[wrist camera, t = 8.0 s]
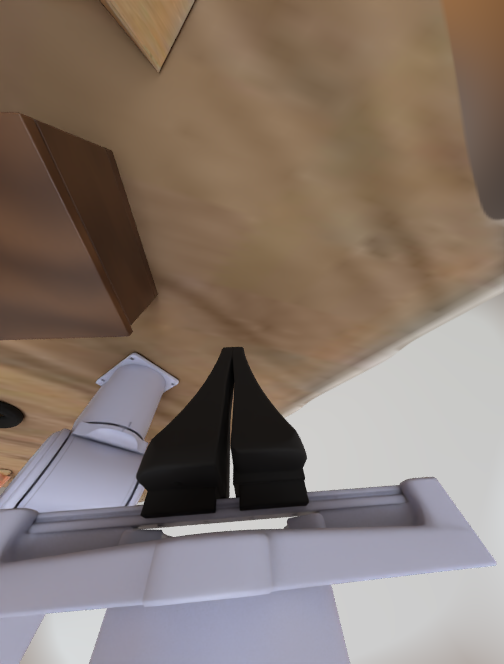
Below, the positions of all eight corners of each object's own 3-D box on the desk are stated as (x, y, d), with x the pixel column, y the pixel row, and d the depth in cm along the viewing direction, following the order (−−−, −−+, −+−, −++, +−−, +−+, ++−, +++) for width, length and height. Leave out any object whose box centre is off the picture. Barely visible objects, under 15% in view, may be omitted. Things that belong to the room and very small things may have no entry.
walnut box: (158, 294, 20) (130, 325, 15) (29, 297, 20) (-45, 330, 14) (112, 150, 14) (34, 118, 8) (-87, 146, 13) (-303, 108, 8)
